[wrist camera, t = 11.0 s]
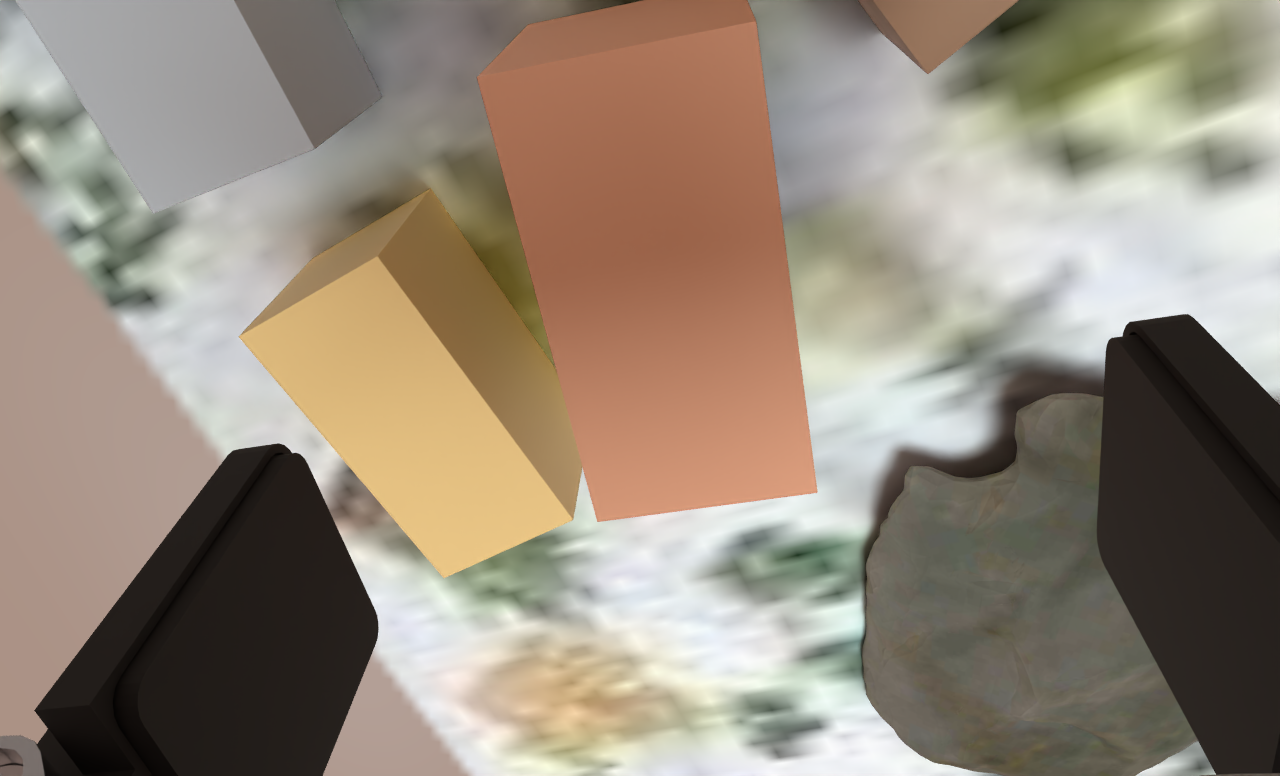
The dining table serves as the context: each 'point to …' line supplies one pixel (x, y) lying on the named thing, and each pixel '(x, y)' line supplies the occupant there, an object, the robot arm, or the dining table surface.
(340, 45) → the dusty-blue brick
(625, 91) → the terracotta brick
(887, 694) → the artifact
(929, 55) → the walnut brick
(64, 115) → the dining table surface
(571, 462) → the ochre brick
